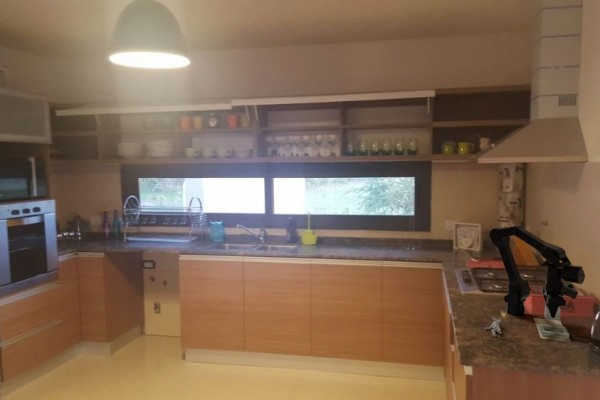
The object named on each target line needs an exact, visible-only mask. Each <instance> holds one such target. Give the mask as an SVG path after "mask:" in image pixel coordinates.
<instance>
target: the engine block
mask: <svg viewBox="0 0 600 400" xmlns="http://www.w3.org/2000/svg"><path fill="white" fill-rule="evenodd" d="M561 310H562V309H561V306H559V308H558V310H557V313H556V315H555V318H552V317H551V315H550V312H549V309H548V306H547V304H546V303H545V304H544V319H548V320H557V321H561Z"/></svg>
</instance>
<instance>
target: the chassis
mask: <svg viewBox="0 0 600 400" xmlns="http://www.w3.org/2000/svg"><path fill="white" fill-rule="evenodd" d="M533 321H534V323H535V326H536V330H537V331H538V335H539V337H540V339H545V340H546V339H547V340H549V341H548V342H551V341H550V340H552V341H553V340H556V341H562V342H565V343H564V344H567V343H566V342H568V343H569V342H570V343H572V340H571V339H570V333H569V332H568V330H567V328H566V326H564V325H563V324H562V321H561V320H560V321H557V320H548V319H546V318H539V317H533ZM541 341H543V340H541ZM556 343H559V342H556Z"/></svg>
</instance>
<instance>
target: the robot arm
mask: <svg viewBox="0 0 600 400" xmlns="http://www.w3.org/2000/svg"><path fill="white" fill-rule="evenodd" d="M488 236H489V239H490V241H491V242H492V245H494V246H495V247H496V248H497V250H498V252H499V256H500V257H501V261H502V263H503V267H504V269H505V272H506V274H507V275H506V276H507V278H508V288H507V289H508V293H507V294H506V295H504V296H503V299H504V302H505V303H506V314H508V315H511V316H525V312H526V311H525V310H526V309H525V308H526V307H525V304H524V302H526V301H527V299H528V298H529V297H530V296H531V290H532V288H531V287H530V284H529V281H528V280H524V279H523V278H522V277H521V274H520V272H519V269H518V266H517V263H516V261H515V257H514V254H513V252H512V249H511V247H510V245H511V244H510V243H511V237H512V236H515V237H516V238H518V239H520V240H521V241H522V242H524V243H526V244H527V245H529V246H530V247H532V248H534V249H535V250H537V252H539V253H540V255H541V256H542V258H544V260H545V261H544V262H543V263H541V264H540V265H541V266H543V267H546V275H545V279H544V282H545V285H543V286H542V287H541V293H542V294H543V295H542V296H543V299H544V303H545V304H547V306H548V309H549V312H550V315H551V317H552V318H555V315H556V313H557V310H558V308H559V307H566V306H567V300H566V299H565V298H564V296H566V297H569V298H571V299H572V300H576V299H577V297H578V295H579V291H578V290H577V289H576V288H574V285H573V284H578V285H582V284H583V283H584V282H585V279H586V274H585V271H584V269H583V268H584V267H583V266H581V265H575V264H574V265H573V264H572V262H571V260H570V259H569V257H568V256H567V253H566V250H565V249H564V248H562V247H560V246H558V245H556V244H553V243H549V242H546V240H543V239H542V238H540V237H538V236H536V235H535V234H533V233H532V232H530V231H528V230H527V229H526V228H524V227H523V226H522V225H519V224H518V225H512V226H510V227H503V226H502V227H495V228H492V229H490V231H489V233H488ZM563 281H564V282H568V283H567V284H564V282H563ZM572 283H573V284H572Z"/></svg>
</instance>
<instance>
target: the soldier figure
mask: <svg viewBox="0 0 600 400" xmlns="http://www.w3.org/2000/svg"><path fill="white" fill-rule="evenodd" d="M491 318H492V321H493V322H492V323H491V325H490V326H489V327H487V326H486V327H484V328H483V329H484V330H491V336H493V337H495V338H496V337H498V336H497V334H496V333H498V334H500V335H501V334H502V330H501V326H500V324H502V323H503V321H502V318H500V317H498V318H496V317H491Z"/></svg>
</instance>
